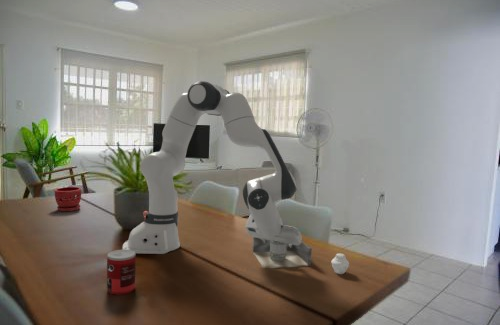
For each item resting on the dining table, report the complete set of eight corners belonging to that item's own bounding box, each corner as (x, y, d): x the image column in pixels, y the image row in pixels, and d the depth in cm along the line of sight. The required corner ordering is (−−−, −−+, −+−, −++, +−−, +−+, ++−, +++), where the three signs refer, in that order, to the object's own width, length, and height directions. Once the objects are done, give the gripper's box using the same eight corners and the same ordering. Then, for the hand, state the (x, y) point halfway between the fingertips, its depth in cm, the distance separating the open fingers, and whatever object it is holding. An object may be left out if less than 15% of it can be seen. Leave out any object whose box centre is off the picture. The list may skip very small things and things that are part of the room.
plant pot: (65, 206, 202) (65, 185, 201) (86, 208, 200) (86, 187, 199) (49, 211, 189) (48, 189, 188) (71, 213, 187) (71, 191, 186)
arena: (263, 268, 124) (264, 250, 123) (252, 252, 139) (253, 236, 139) (310, 265, 128) (311, 248, 128) (294, 250, 144) (295, 235, 143)
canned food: (111, 283, 107) (111, 248, 106) (137, 283, 108) (138, 249, 107) (103, 295, 100) (103, 258, 99) (131, 295, 100) (132, 258, 99)
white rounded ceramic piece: (329, 268, 127) (330, 249, 126) (346, 269, 127) (347, 250, 126) (332, 275, 121) (333, 256, 120) (350, 276, 121) (351, 257, 120)
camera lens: (285, 262, 129) (286, 241, 128) (268, 260, 130) (269, 240, 129) (286, 256, 135) (287, 236, 134) (270, 254, 136) (271, 235, 136)
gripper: (300, 220, 120) (306, 240, 129) (247, 212, 128) (256, 231, 138) (295, 236, 116) (302, 256, 126) (241, 227, 125) (251, 245, 134)
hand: (278, 243), depth 132 cm, fingers open, 8 cm apart
